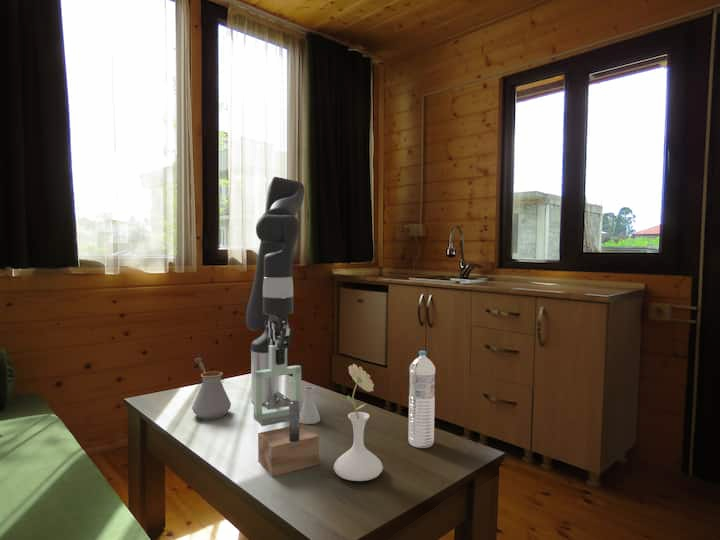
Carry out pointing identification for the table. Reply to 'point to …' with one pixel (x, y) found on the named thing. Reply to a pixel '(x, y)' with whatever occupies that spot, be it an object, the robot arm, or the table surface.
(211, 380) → the coffee pot
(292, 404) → the bent wire
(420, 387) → the water bottle
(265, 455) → the wooden block
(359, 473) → the flower in vase
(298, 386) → the square frame with post
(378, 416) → the table surface
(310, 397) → the flask
